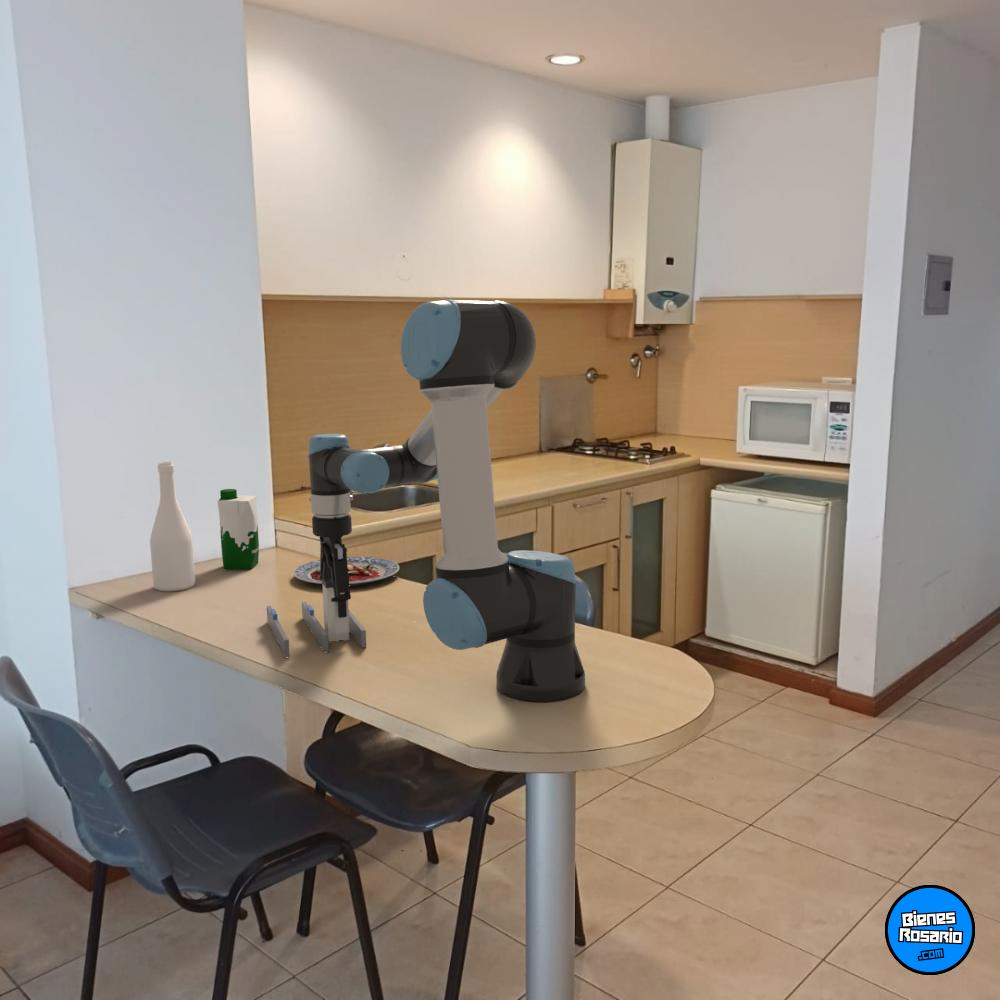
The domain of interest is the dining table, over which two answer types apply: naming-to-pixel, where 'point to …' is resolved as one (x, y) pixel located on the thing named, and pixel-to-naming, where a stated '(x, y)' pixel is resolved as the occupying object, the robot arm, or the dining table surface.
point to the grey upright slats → (312, 628)
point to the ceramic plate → (352, 570)
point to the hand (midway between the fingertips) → (336, 624)
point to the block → (330, 611)
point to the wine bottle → (171, 539)
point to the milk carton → (238, 530)
